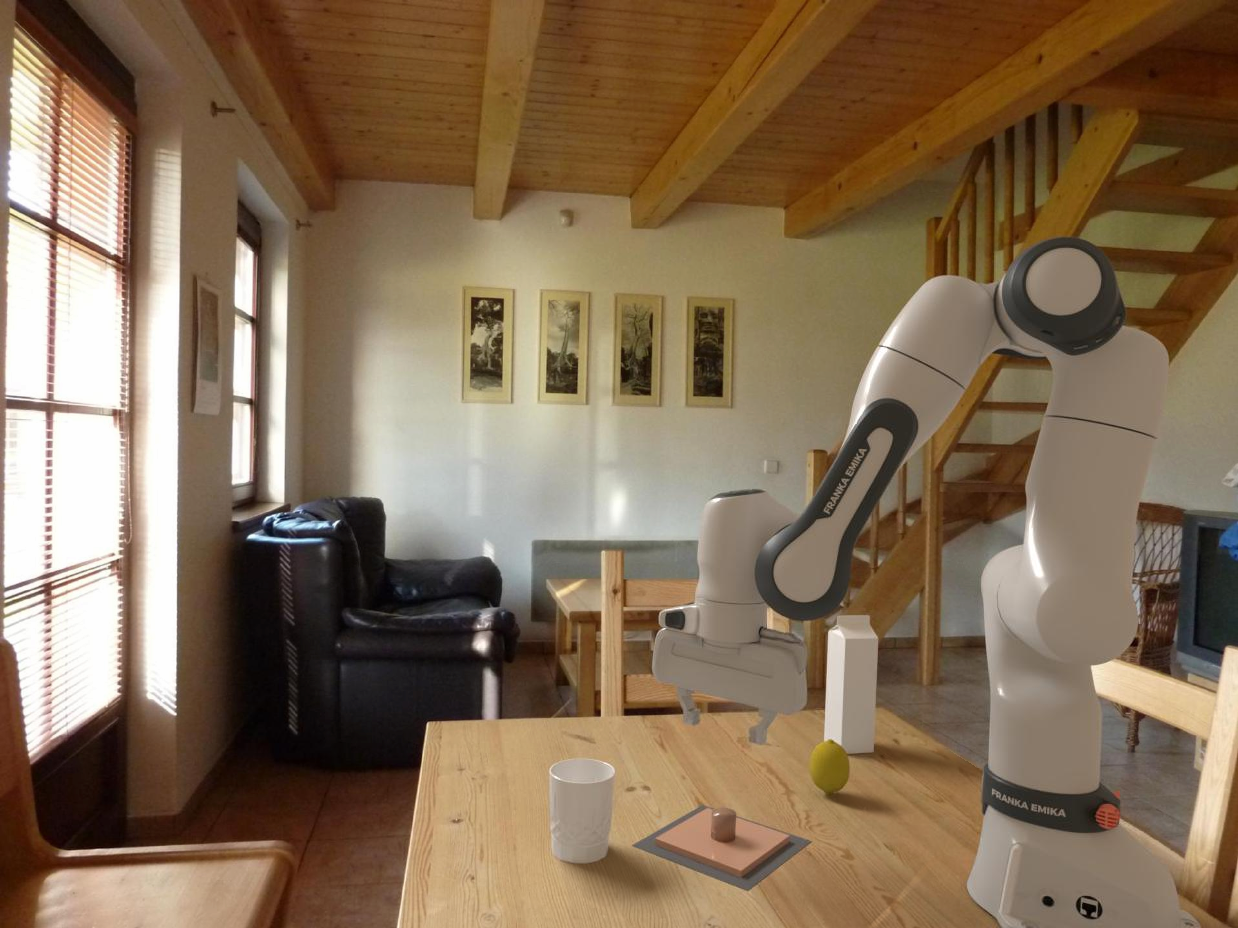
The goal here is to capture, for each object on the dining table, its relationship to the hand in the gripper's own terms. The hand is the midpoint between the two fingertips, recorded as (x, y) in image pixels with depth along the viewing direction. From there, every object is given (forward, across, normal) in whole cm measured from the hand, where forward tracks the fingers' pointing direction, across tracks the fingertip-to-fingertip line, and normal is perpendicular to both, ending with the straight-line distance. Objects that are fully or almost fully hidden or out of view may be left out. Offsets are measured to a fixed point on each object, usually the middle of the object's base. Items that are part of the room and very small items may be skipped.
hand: (723, 732), depth 107 cm
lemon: (+14, -4, -24) cm, 28 cm away
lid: (+14, -1, 0) cm, 14 cm away
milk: (+14, +2, -45) cm, 47 cm away
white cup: (+15, +11, +13) cm, 22 cm away
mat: (+14, -1, 0) cm, 14 cm away
